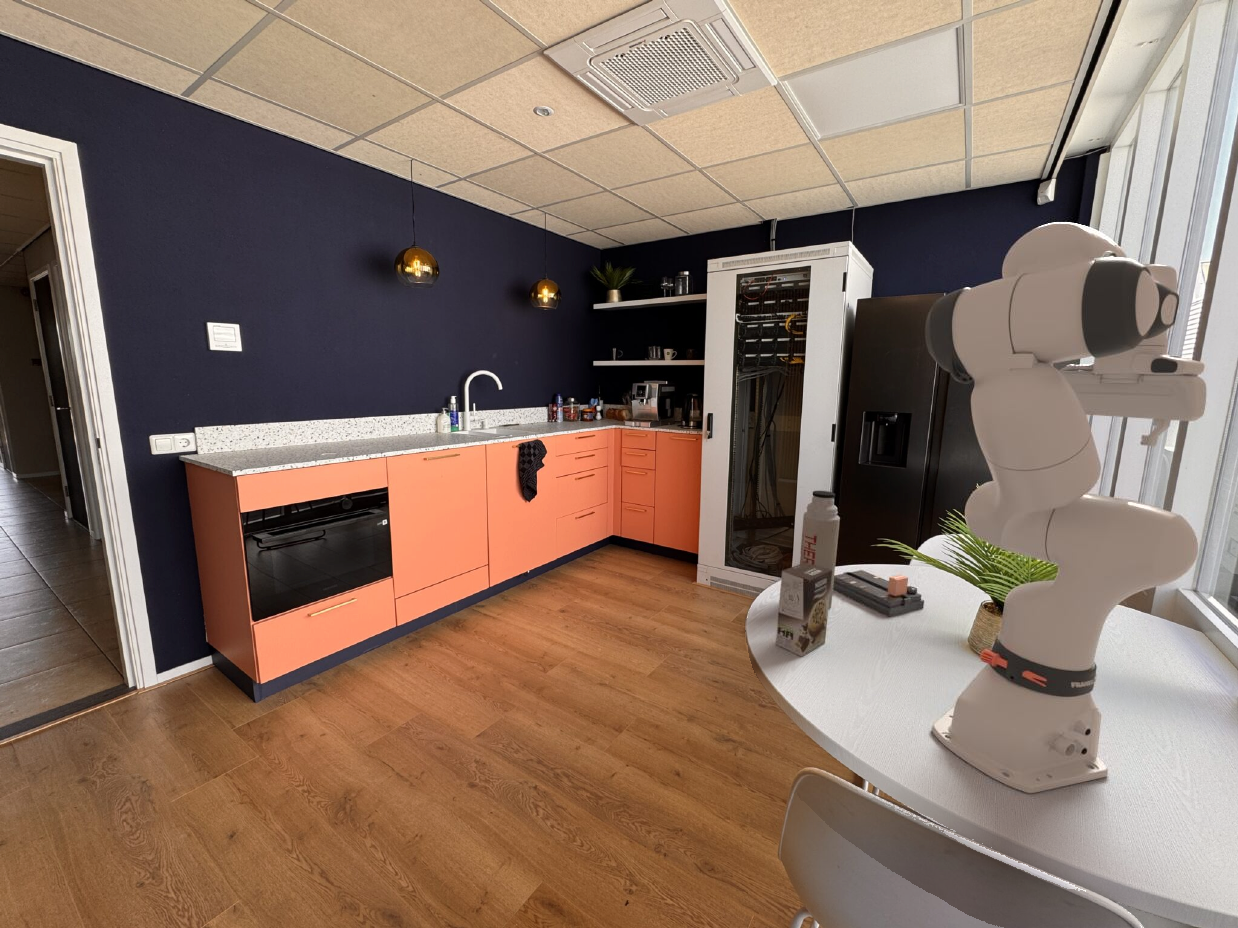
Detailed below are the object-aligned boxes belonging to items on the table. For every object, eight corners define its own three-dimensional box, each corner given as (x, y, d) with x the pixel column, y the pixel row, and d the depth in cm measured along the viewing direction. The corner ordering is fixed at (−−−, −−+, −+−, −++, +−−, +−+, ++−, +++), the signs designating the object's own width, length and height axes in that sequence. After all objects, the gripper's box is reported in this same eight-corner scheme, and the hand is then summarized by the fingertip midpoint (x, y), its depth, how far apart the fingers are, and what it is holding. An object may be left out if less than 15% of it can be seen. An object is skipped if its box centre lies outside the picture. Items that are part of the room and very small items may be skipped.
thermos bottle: (810, 613, 119) (820, 496, 114) (789, 598, 127) (798, 489, 122) (838, 609, 122) (849, 495, 117) (816, 595, 129) (826, 487, 124)
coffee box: (802, 657, 100) (809, 580, 97) (774, 644, 105) (780, 570, 102) (826, 643, 106) (833, 569, 103) (798, 630, 111) (804, 560, 108)
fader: (894, 602, 121) (896, 579, 120) (886, 598, 123) (889, 576, 122) (905, 599, 123) (908, 577, 122) (898, 596, 124) (900, 574, 123)
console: (889, 617, 118) (891, 599, 117) (828, 587, 134) (829, 571, 133) (923, 608, 123) (925, 591, 122) (860, 580, 139) (862, 565, 138)
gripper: (1048, 364, 98) (1037, 435, 100) (1201, 363, 79) (1182, 450, 82) (1067, 365, 100) (1055, 434, 103) (1219, 364, 82) (1200, 449, 84)
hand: (1113, 442), depth 92 cm, fingers open, 8 cm apart
